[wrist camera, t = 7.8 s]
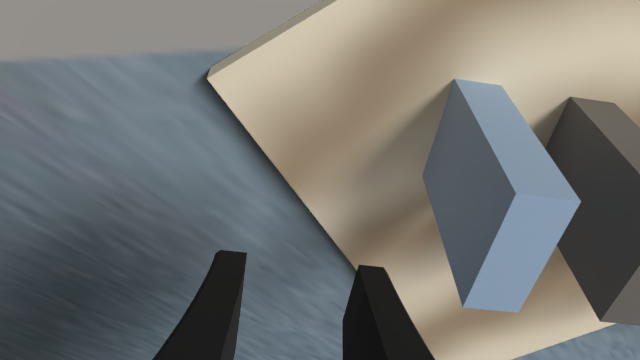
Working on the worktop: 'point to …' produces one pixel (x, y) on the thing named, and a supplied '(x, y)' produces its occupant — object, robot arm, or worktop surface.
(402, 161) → the board
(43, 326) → the worktop surface
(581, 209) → the tile
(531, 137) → the tile blue
